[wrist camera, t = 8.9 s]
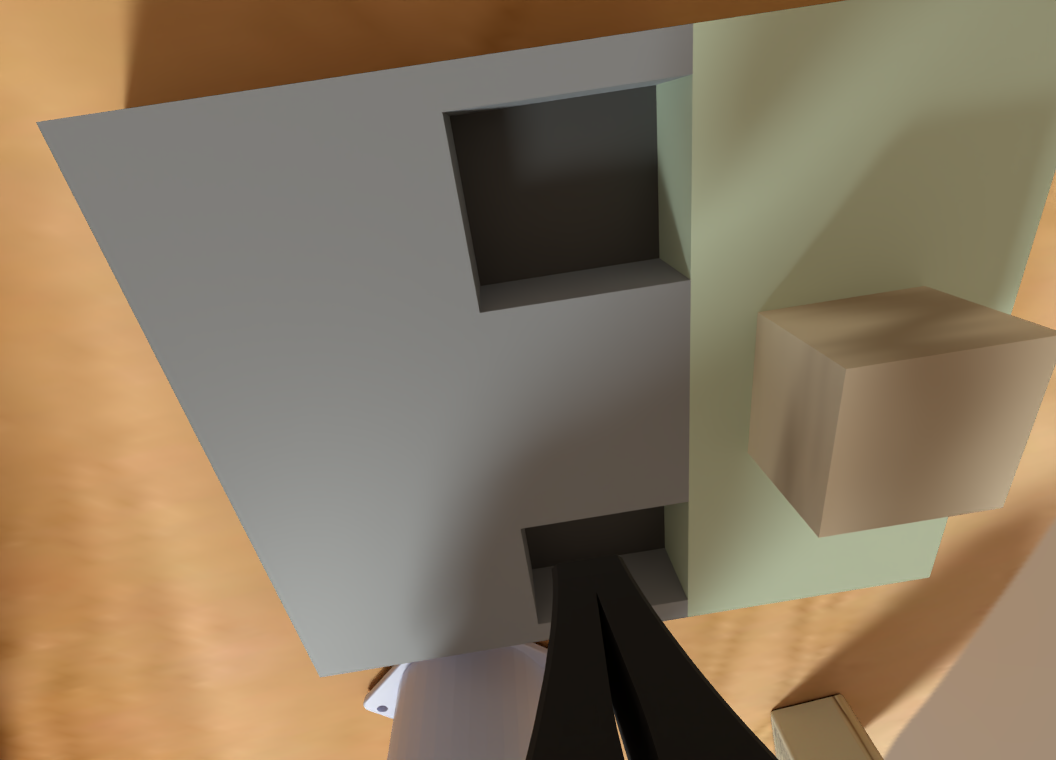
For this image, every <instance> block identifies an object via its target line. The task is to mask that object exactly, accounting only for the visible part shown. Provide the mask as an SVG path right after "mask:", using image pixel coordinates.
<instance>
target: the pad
mask: <svg viewBox="0 0 1056 760" xmlns="http://www.w3.org/2000/svg"><path fill="white" fill-rule="evenodd" d="M656 99H657V152H658V205H659V258H660V259H661V260H663V261H664V262H666V263H667V264H669V265H670V266H671V267H673V268H674V269H676V270H677V271H679V272H680V273H682V274H683V275H684V276H686V277H687V278H689V279H690V280H691V313H690V422H689V502H683V503H677V504H671V505H665V506H664V523H665V549H666V551H667V554H668V556H669V558H670V560H671V563H672V565H673V567H674V570H675V572H676V574H677V576H678V579H679V581H680V583H681V586H682V588H683V590H684V592H685V595H686V597H687V599H688V617H691V616H697V615H703V614H709V613H716V612H722V611H728V610H734V609H740V608H746V607H752V606H758V605H764V604H770V603H777V602H783V601H789V600H795V599H801V598H807V597H813V596H819V595H825V594H831V593H838V592H844V591H850V590H856V589H862V588H868V587H874V586H880V585H886V584H892V583H899V582H905V581H911V580H917V579H923V578H929V577H930V574H931V571H932V568H933V565H934V561H935V558H936V555H937V552H938V548H939V545H940V542H941V539H942V535H943V532H944V529H945V526H946V523H947V519H948V517H943V518H937V519H931V520H925V521H919V522H913V523H907V524H901V525H894V526H888V527H882V528H876V529H870V530H864V531H858V532H852V533H845V534H839V535H833V536H827V537H821V538H818V536H817V535H816V534H815V533H814V532H813V530H812V529H811V528H810V527H809V526H808V524H807V523H806V522H805V521H804V520H803V518H802V517H801V516H800V515H799V514H798V512H797V511H796V510H795V509H794V508H793V506H792V505H791V504H790V503H789V502H788V500H787V499H786V498H785V497H784V496H783V494H782V493H781V492H780V491H779V490H778V488H777V487H776V486H775V485H774V484H773V482H772V481H771V480H770V479H769V478H768V476H767V475H766V474H765V473H764V472H763V470H762V469H761V468H760V467H759V466H758V464H757V463H756V462H755V461H754V460H753V458H752V457H751V456H750V455H749V454H748V441H749V427H750V413H751V399H752V385H753V371H754V357H755V343H756V329H757V315H758V312H762V311H769V310H775V309H781V308H788V307H794V306H800V305H807V304H813V303H819V302H826V301H832V300H838V299H845V298H851V297H857V296H864V295H870V294H876V293H883V292H889V291H895V290H902V289H908V288H914V287H921V286H927V287H930V288H933V289H936V290H939V291H942V292H944V293H947V294H950V295H953V296H956V297H959V298H962V299H965V300H968V301H971V302H974V303H977V304H980V305H983V306H986V307H989V308H991V309H994V310H997V311H1000V312H1003V313H1006V314H1009V315H1011V312H1012V309H1013V306H1014V303H1015V299H1016V296H1017V293H1018V290H1019V286H1020V283H1021V280H1022V277H1023V273H1024V270H1025V267H1026V264H1027V260H1028V257H1029V254H1030V251H1031V248H1032V244H1033V241H1034V238H1035V235H1036V231H1037V228H1038V225H1039V222H1040V218H1041V215H1042V212H1043V209H1044V205H1045V202H1046V199H1047V196H1048V193H1049V189H1050V186H1051V183H1052V180H1053V176H1054V173H1055V170H1056V0H846V1H839V2H832V3H826V4H819V5H812V6H806V7H799V8H792V9H786V10H779V11H772V12H766V13H759V14H753V15H746V16H739V17H733V18H726V19H719V20H713V21H706V22H699V23H693V74H692V75H688V76H685V77H681V78H678V79H675V80H671V81H668V82H664V83H661V84H658V85H656Z"/></svg>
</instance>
